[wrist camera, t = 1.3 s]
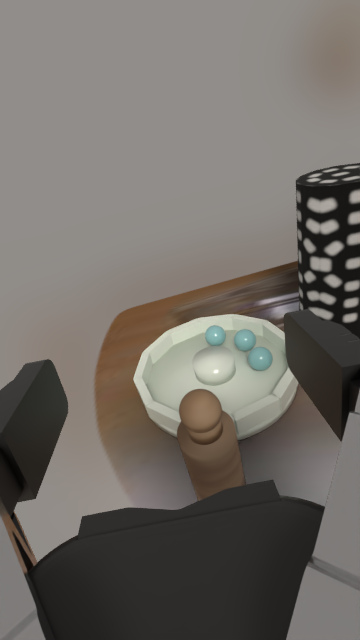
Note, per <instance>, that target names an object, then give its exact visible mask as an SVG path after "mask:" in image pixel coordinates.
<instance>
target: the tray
mask: <svg viewBox="0 0 360 640" xmlns="http://www.w3.org/2000/svg"><path fill="white" fill-rule="evenodd" d="M133 380H134V382H135V385H136V388H137V390H138V393H139V395H140V397H141V399H142V401H143V404H144V406H145V409H146V411H147V413H148V415H149V417H150V418H151V419H152V421H153V422H154V423H155V424H156V425H157V426H158V427H159V428H160V429H162V430H163V431H165V432H166V433H168V434H170V435H172V436H174V437H176V438H177V429H178V426H179V424H180V422H181V419H180V416H179V406H180V403H181V400H182V399H183V397H184V396H185V395H186V394H187V393H188V392H190V391H192V390H195V389H206V390H208V391H210V392H212V393H213V394H215V395H216V396H217V398H218V399H219V401H220V403H221V407H222V410H223V411H225V412H226V413H227V414H229V415H230V417H231V418H232V419H233V422H234V425H235V430H236V435H237V440H242V439H245V438H248V437H251V436H253V435H255V434H257V433H260V432H262V431H263V430H265V429H267V428H268V427H270V426H271V425H273V424H274V423H275V422H276V421H278V420H279V419H280V418H281V417H282V416H283V415H284V414H285V413H286V411H287V410H288V409H289V407H290V406H291V404H292V402H293V400H294V398H295V395H296V391H297V386H298V383H299V382H298V381H297V379H296V378H295V377H294V375H293V374H292V372H291V371H290V369H289V366H288V363H287V359H286V349H285V333H284V332H283V331H281V330H280V329H279V328H277V327H276V326H274V325H273V324H272V323H270V322H269V321H266V320H263V319H257V318H252V317H247V316H242V315H236V314H234V315H233V314H228V315H220V316H211V317H202V318H199V319H198V318H197V319H195V320H192V321H190V322H187V323H185V324H182V325H180V326H178V327H175V328H173V329H170V330H168V331H167V332H165V333H164V334H163V335H161V336H160V337H159V338H158V339H157V340H156V341H155V342H154V343H152V344H151V345H150V346H149V347H148V348H147V349H146V350H145V351H143V353H142V355H141V358H140V361H139V364H138V367H137V370H136V372H135V375H134V378H133Z"/></svg>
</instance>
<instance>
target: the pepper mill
mask: <svg viewBox="0 0 360 640" xmlns="http://www.w3.org/2000/svg"><path fill="white" fill-rule="evenodd" d="M179 416H180V419H181V422H180V424H179V426H178V429H177V439H178V442H179V445H180V448H181V451H182V454H183V457H184V460H185V463H186V466H187V469H188V472H189V475H190V478H191V481H192V484H193V487H194V490H195V492H196V495H197V498H198V501H200V500H202V499H205V498H207V497H209V496H211V495H213V494H216V493H218V492H220V491H222V490H224V489H228V488H233V487H238V486H243V485H246V482H245V477H244V472H243V466H242V461H241V456H240V451H239V446H238V440H237V435H236V430H235V425H234V422H233V419H232V418H231V417H230V415H229V414H227V413H226V412H225V411H223V410H222V407H221V403H220V401H219V399H218V398H217V396H216V395H215V394H213V393H212V392H210V391H208V390H206V389H195V390H192V391H190V392H188V393H187V394H186V395H185V396H184V397H183V399H182V400H181V403H180V406H179Z"/></svg>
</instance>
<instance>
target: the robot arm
mask: <svg viewBox="0 0 360 640" xmlns="http://www.w3.org/2000/svg"><path fill="white" fill-rule="evenodd" d="M284 333H285V349H286V359H287V363H288V366H289V369H290V371H291V372H292V374H293V375H294V377H295V378H296V379H297V381H298V382H299V384H300V385H301V386H302V388H303V389H304V391H305V392H306V393H307V395H308V396H309V398H310V399H311V400H312V402H313V403H314V404H315V406H316V407H317V409H318V410H319V411H320V413H321V414H322V416H323V417H324V418H325V420H326V421H327V423H328V424H329V425H330V427H331V428H332V430H333V431H334V432H335V434H336V435H337V437H338V438H339V439H340V441H342V443H341V447H340V451H339V455H338V459H337V463H336V467H335V471H334V475H333V479H332V482H331V486H330V490H329V494H328V498H327V502H326V506H325V507H324V506H321V505H319V504H316V503H314V502H311V501H307V500H304V499H300V498H294V497H288V496H279V494H278V491H277V489H276V486H275V484H274V481H273V480H269V481H264V482H259V483H254V484H249V485H243V486H238V487H233V488H228V489H224V490H222V491H220V492H218V493H216V494H213V495H211V496H209V497H207V498H205V499H202V500H200V501H198V502H196V503H194V504H191V505H189V506H187V507H185V508H182V509H179V510H163V509H146V508H124V509H118V510H113V511H108V512H103V513H98V514H93V515H87V516H83V517H82V519H81V524H80V528H79V533H78V535H77V536H75V537H73V538H71V539H69V540H68V541H66V542H64V543H62V544H61V545H59V546H58V547H57V548H55V549H54V550H52V551H51V552H49V553H48V554H47V555H46V556H45V557H43V558H42V559H41V560H40V561H39V562H37V560H36V558H35V555H34V553H33V551H32V549H31V546H30V544H29V542H28V540H27V537H26V535H25V533H24V531H23V528H22V526H21V524H20V522H19V520H18V517H17V516H16V514H15V512H14V509H15V506H16V504H17V502H22V501H26V500H32V499H36V496H37V494H38V491H39V488H40V486H41V483H42V480H43V478H44V475H45V473H46V470H47V467H48V465H49V462H50V459H51V456H52V454H53V451H54V448H55V446H56V443H57V441H58V438H59V435H60V433H61V430H62V427H63V425H64V422H65V419H66V417H67V414H68V402H67V397H66V394H65V392H64V389H63V387H62V384H61V382H60V379H59V376H58V374H57V372H56V369H55V366H54V364H53V363H52V361H51V360H48V359H47V360H42V361H37V362H32V363H27V364H25V365H24V366H23V368H22V369H21V370H20V372H19V373H18V375H17V376H16V377H15V379H14V380H13V381H11V382H10V383H9V384H7V385H6V386H5V387H4V388H2V389H1V390H0V640H360V339H359V338H358V337H357V336H356V335H354V334H352V332H350V331H349V330H348V329H346V328H345V327H344V326H342V325H341V324H338V323H335V322H332V321H329V320H324V321H323V320H321V319H320V318H319V317H318V316H317V315H315V314H314V313H313V312H312V311H310V310H309V309H305V310H300V311H295V312H290V313H286V314H285V315H284Z"/></svg>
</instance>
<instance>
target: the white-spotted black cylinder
mask: <svg viewBox="0 0 360 640" xmlns="http://www.w3.org/2000/svg"><path fill="white" fill-rule="evenodd" d="M296 201H297V238H298V274H299V309H300V310H305V309H309V310H310V311H312V312H313V313H314V314H315V315H317V316H318V317H319V318H320V319H321V320H323V321H324V320H329V321H332V322H335V323H338V324H341V325H342V326H344V327H345V328H346V329H348V330H349V331H350V332H352V334H354V335H356V336H357V337H358V338H359V339H360V163H357V164H348V165H340V166H334V167H329V168H324V169H320V170H316V171H313V172H310V173H307V174H305V175H302V176H300V177H299V178H298V179H297V180H296Z"/></svg>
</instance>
